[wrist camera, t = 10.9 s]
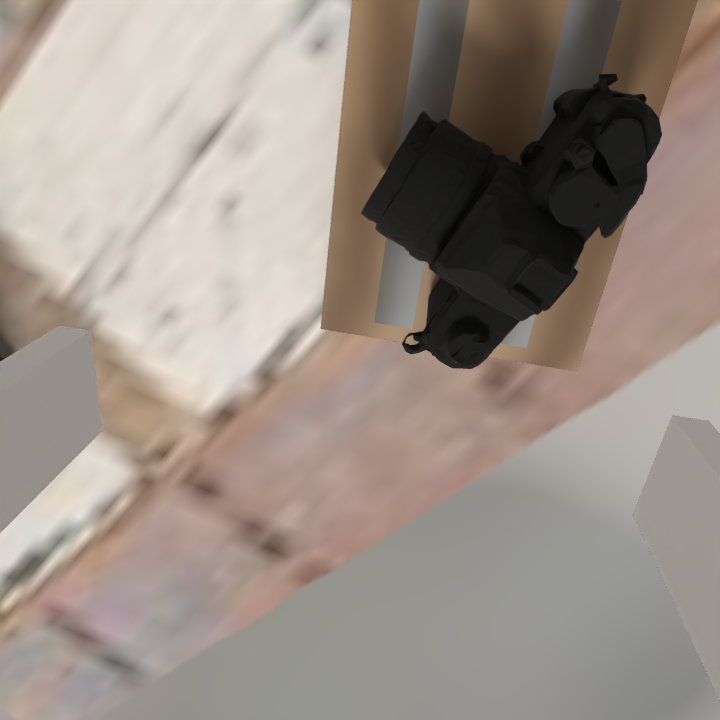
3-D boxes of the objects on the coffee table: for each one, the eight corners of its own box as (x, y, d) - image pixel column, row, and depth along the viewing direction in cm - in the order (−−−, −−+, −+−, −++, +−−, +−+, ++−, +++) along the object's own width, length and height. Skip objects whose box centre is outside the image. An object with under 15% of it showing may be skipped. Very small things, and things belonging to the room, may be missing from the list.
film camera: (488, 4, 27) (505, -34, 19) (646, 120, 28) (725, 130, 20) (332, 261, 34) (295, 313, 26) (465, 346, 35) (469, 422, 27)
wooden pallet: (329, 312, 38) (320, 328, 36) (365, -42, 30) (357, -56, 27) (567, 351, 37) (577, 371, 34) (678, -6, 28) (702, -17, 26)
